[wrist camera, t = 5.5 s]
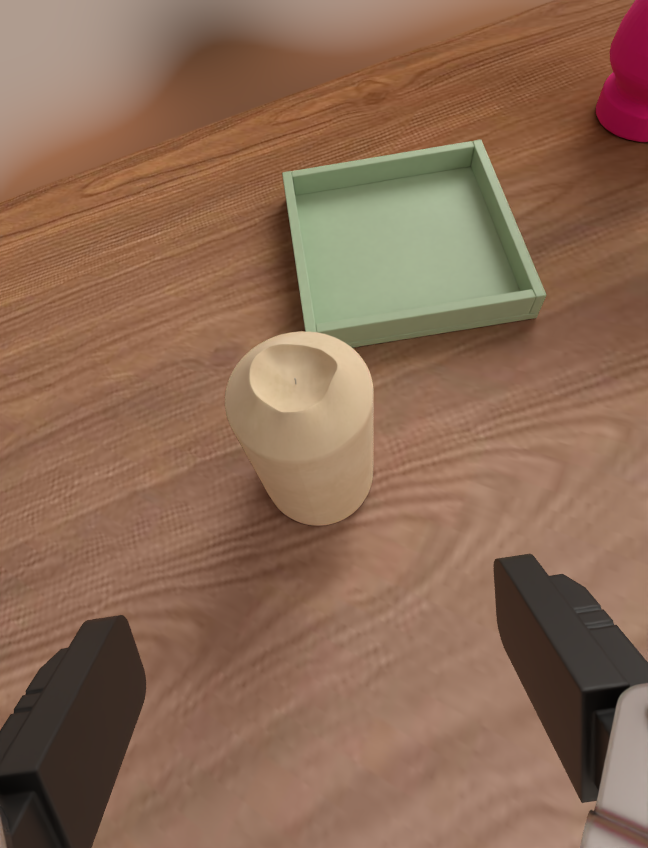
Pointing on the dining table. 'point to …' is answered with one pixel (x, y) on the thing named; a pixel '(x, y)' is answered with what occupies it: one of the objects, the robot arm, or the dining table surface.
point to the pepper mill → (628, 78)
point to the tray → (408, 246)
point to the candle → (306, 424)
